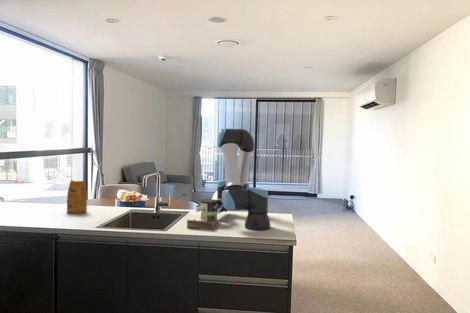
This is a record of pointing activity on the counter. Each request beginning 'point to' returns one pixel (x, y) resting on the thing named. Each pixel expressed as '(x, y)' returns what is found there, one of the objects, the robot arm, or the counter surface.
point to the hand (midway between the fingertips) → (207, 210)
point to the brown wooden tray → (201, 225)
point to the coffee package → (77, 197)
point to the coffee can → (209, 210)
